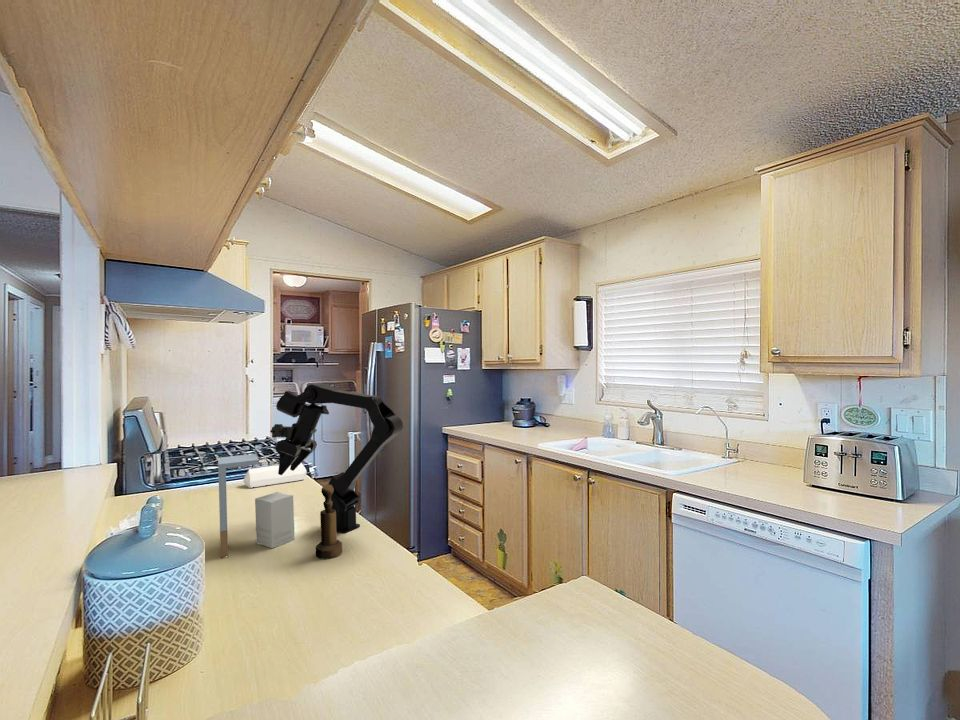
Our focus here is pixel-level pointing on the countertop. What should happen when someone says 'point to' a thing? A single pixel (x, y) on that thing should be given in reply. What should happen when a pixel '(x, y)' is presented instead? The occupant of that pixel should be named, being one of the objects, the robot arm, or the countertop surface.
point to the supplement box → (274, 519)
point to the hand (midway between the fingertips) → (286, 472)
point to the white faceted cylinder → (273, 476)
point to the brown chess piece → (328, 528)
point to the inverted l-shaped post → (222, 465)
